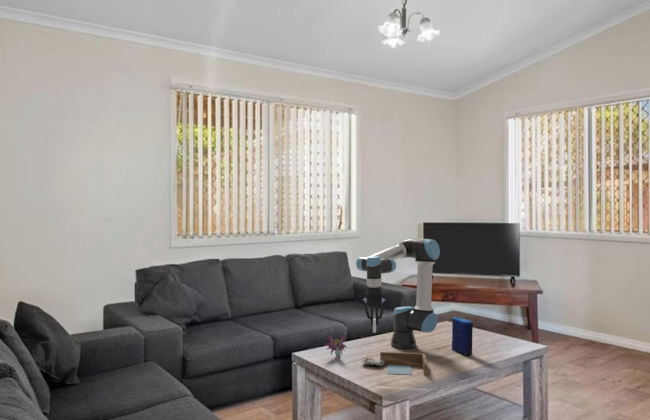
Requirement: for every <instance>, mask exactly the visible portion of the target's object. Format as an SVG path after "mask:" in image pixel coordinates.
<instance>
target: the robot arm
mask: <svg viewBox="0 0 650 420" xmlns="http://www.w3.org/2000/svg"><path fill="white" fill-rule="evenodd" d="M440 254H441V249H440V245H439V244H438V242H437V241H436V240H435V239H432V238H431V239H430V238H409V239H406V240H402V241H399V242H397V243H395V244H394V245H393V246H391V247H389V248H386V249H384V250H382V251H379V252H377V253H374V254H371V255H369V256H365V257H364V256H360V257H357V259H356V262H355V265H356V268H357V270H359V271H363V272H366V286H367V287H366V295H365V296H366V297H364V298H363V299H361V302H362V304H363V307H364V309H365V314H366V318H367V319H370V326H372V333H377V326H379V320H381V319H382V318H383V317H382V316H383V314H384V309H385V305H386V304H387V299H385V298H383V296H382V275H383V274H390V273H393V272H394V271H395V270H396V269H397V263H396V260H398V259H400V260H401V259H406V258H410V259H411V258H412V259H415V260H414V261H415V263H416V264H417V272H416V273H417V275H416V298H415V299H416V303H415V305H414V307H413V306H410V305H409V306H398V307H397V306H396V307H395V308H394V310H393V315H392V316H393V333H392V336H391V340H390V346H391V347H393V348H397V349H414V348H416V347H417V341H416V337H415V333H414V331H417V332H422V333H427V334H430V333H432V332H433V331H435V329H436V327H437V325H438V316H437V314H436V313H435V312H434V309H435V308H433V307H432V292H433V291H432V289H433V288H432V287H433V267H434V264H436V260H438V259H439V257H440V256H441V255H440ZM367 303H369V304H370V313H369V308H368V304H367ZM380 303H381V307H380V310H379V304H380ZM374 306H375V318H374ZM379 311H380V312H379Z"/></svg>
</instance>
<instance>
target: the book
mask: <svg viewBox="0 0 650 420" xmlns="http://www.w3.org/2000/svg"><path fill="white" fill-rule="evenodd" d="M451 324H452V326H451V328H452V330H451V331H452V333H451V334H452V336H451V337H452V340H451V350H452V351H454V352H456V353H458V354H461V355H462V356H473V331H474V330H473V328H474V326H473V325H474V324H473V321H472V320H468V319H465V318H462V317H459V316H452V323H451Z"/></svg>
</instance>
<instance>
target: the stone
mask: <svg viewBox="0 0 650 420" xmlns="http://www.w3.org/2000/svg"><path fill="white" fill-rule="evenodd" d="M361 362H362V363H364V364H366V365H367V366H373V365H374V366H375V365H376V366H378V367H381V366H382V367H383V365H385V364H384V363H385V362H384V361H383V360H382V359H380V358H379V359H374V358H372V357H370V358H369V357H364V358H363V359H362V360H361Z"/></svg>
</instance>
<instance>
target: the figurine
mask: <svg viewBox="0 0 650 420" xmlns="http://www.w3.org/2000/svg"><path fill="white" fill-rule="evenodd" d="M324 333H325V335H326V337H327V338H328V339H327V340H328V341H329V342H326V343H325V344H323V346H327V348H326V349H325V351H326V350H330V355H333V352H334V354H335V355H336V356H335V357H334V359H335V360H338V359H339V358H340V356H343V355H344V353H343V351H344V352H346V351H345V350H346V349H347V348H348V346H346V344H344V341H345V339H346V336H347V335H348V333H345V334H344V335H343V336H342V337H341V338H340V339H338V338H336V339H335V340H334V339H333V336H331V335H330V334H328V333H327V332H326V331H324ZM345 348H346V349H345Z"/></svg>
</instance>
